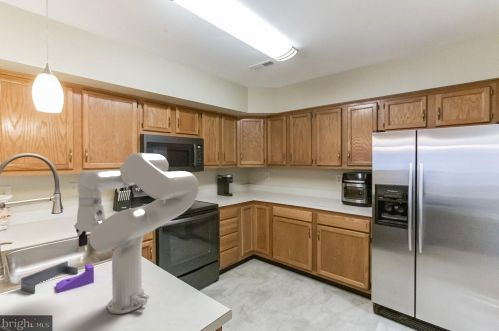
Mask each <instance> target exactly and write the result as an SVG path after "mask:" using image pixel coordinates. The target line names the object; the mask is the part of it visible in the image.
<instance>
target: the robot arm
mask: <svg viewBox="0 0 499 331" xmlns="http://www.w3.org/2000/svg"><path fill="white" fill-rule="evenodd" d="M77 176H78V177H77V180H78V181H77V182H78V188H77V189H78V190H77V191H78V192H77V193H78V200H77V201H78V208H77V215H76V223H75V224H74V226H73V227H74V228H75V232H76V233H77V237H78V247H79V248H82V247H85V246H87V245H88V233H90V234H89V243H90V246H91V247H92V249H94V250H96V251H97V252H101V253H104V252H108V251H112V250H113V254H112V259H111V267H112V268H111V270H112V271H111V278H112V279H111V280H112V281H111V284H112V286H111V288H112V293H111V294H112V295H111V296H112V298H111V299H110V300H109V301H108V302H107V306H106V307H107V311H108V312H110V313H112V314H116V315H117V314H118V315H119V314H127V313H130V312H132V311H135V310H138V309H139V308H141V307H142V306H146V304H147V303H148V300H149V299H150V296H149V295H147V294H146V293H145V290H144V289H143V288H142V287H143V286H142V282H143V281H142V276H143V275H142V256H143V255H142V254H143V253H142V252H143V251H142V249H143V248H142V247H143V240H144V235H148V234H150V233H151V232H153V231H155V230H157V229H158V228H159V227H162V226H163V225H165V224H167V223H168V222H170V221H172V220H174V219H176V218H178V217H179V216H182V214H184V213H185V212H186V211H188V209H190V208H191V207H192V205H193V204H194V203H195V202H196V199H197V196H198V193H199V181H198V179H197V176H195V175H194V174H193V173H192V172H189V171H185V170H183V171H182V170H176V171H175V170H173V171H169V162H168V160H167V158H166V157H165V156H163V155H161V154H159V153H151V152H149V153H147V152H134V153H131V154H129V155H128V156H127V157H126V158H125V160H124V162H123V163H122V164H121V165H120V167H119V169H108V170H106V169H103V170H85V171H84V170H83V171H80V172H79V173H78V174H77ZM135 185H136V186H137V187H138V188H140V189H141V190H142V191H143V192H144V193H145V194H147V195H148V196H149V197H151V198H152V199H154V200H153V201H152V202H150V203H148V204H146V205H141V206H137V207H131V208H127V209H123V210H120V211H118V212H115V213H113V214H112V215H110V216H109V217H107V218H105V217H106V216H105V210H104V206H103V205H102V191H106V190H107V191H108V190H116V189H122V188H126V187H131V186H135Z"/></svg>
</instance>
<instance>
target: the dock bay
mask: <svg viewBox="0 0 499 331" xmlns="http://www.w3.org/2000/svg"><path fill="white" fill-rule="evenodd" d="M65 272H66V273H68V272H70V273H69V274H73V275H78V274H79V268H78V267H75V266H72V265H71V266H70V265H69V261H64V262H60V263H59V264H56V265H52V266H49V267H48V268H44V269H43V270H39V271H37V272H35V273H30V274H28V275H25V276H23V277H21V278H20V290H21V291H22V292H25V293H29V294H32V295H34V294H36V286H38V285H40V284H41V283H40V282H42V283H44V282H43V281H45V282H47V281H49V280H51V279H50V278H52V279H54V278H56V277H58V276H57V275H59V276H61V275H62V274H66V273H65ZM60 274H61V275H60ZM55 276H56V277H55ZM53 277H54V278H53ZM48 279H49V280H48ZM46 280H47V281H46ZM39 283H40V284H39ZM37 284H38V285H37Z"/></svg>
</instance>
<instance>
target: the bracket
mask: <svg viewBox="0 0 499 331" xmlns="http://www.w3.org/2000/svg"><path fill="white" fill-rule="evenodd" d="M94 283H95V267H94V265H93V264H92V263H87V264H84V271H83V272H82V273H80V274H79V275H78V274H77V275H76V276H72V277H68V278H64V279H62V280H59V281H58V282H57V283H55V284H56V285H55V287H56V291H57V294H60V293H63V292H66V291H70V290H73V289H76V288H77V289H78V288H80V287H84V286H87V285H90V284H94Z"/></svg>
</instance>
